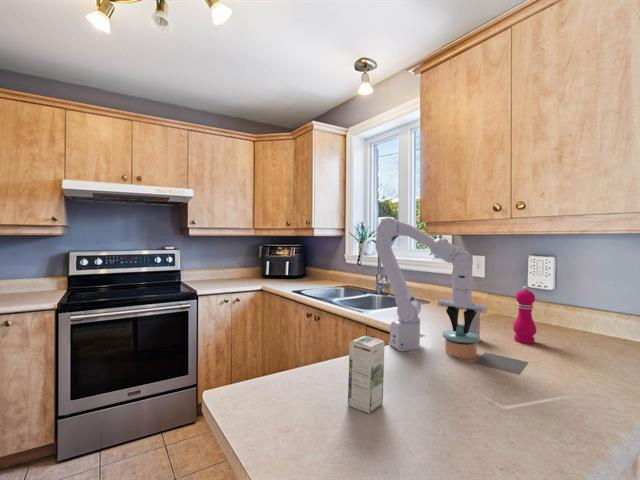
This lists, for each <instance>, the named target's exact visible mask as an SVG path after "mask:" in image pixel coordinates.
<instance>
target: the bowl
mask: <svg viewBox="0 0 640 480" xmlns="http://www.w3.org/2000/svg"><path fill="white" fill-rule="evenodd" d="M444 339H445V340H444V351H445V353H446V354H447V355H449V356H451V357H455V358H459V359H473V358H476V357H477V355H478V349H477V348H478V342H476V343H461V342H455V341H451V340H448V339H446V338H444Z"/></svg>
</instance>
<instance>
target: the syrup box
mask: <svg viewBox="0 0 640 480" xmlns="http://www.w3.org/2000/svg"><path fill="white" fill-rule="evenodd" d="M348 355H349V357H348V385H347V386H348V389H347V393H348V394H347V405H348V406H349V407H351V408H352V409H356V410H358V411H361V412H363V411H364V413H366V412H367V414H369V413H370V414H371V413H373V412H374V411H375V410H377V409H378V408H379V407H380V406H382V405H383V403H384V402H383V401H384V400H383V399H384V374H385V373H384V371H385V370H384V369H385V340H381V339H379V338H376V337H373V336H367V335H363V336H360V337H358V338H356V339H353V340H351V341H349V354H348Z"/></svg>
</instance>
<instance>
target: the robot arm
mask: <svg viewBox="0 0 640 480" xmlns="http://www.w3.org/2000/svg"><path fill="white" fill-rule="evenodd" d="M399 236H403V237H404V236H405V237H409V238H411V239H412V240H414V241H417V242H418V243H420V244H422V245H424V246H426V247H428V248H429V250H430V253H431V254H432V255H433V256H435V257H437V258H439V259H441V261H442V260H443V261H444V262H446V263H448V264H450V263H451V264H452V267H453V273H452V279H451V280H452V286H451V289H452V291H451V299H450V300H448V299H438V301H437V306H438V307H444V308H447V309H445V312H446V313H447V315H448V317H449V320H450V323H451V327H452V330H453V331H456V325H457V324H459V321H458V319H459V313H460V310H463V322H464V321H465V325H464V324H463V325H464V333H465V334H467V333H469V329H470V325H471V322H472V320H473V318H474V316H475V315H476V313H477V312H480V314H486V313H487V312H488V306H487V305H482V304H477V303H473V302H472V294H473V292H472V291H473V275H472V274H473V269H472V266H473V262H474V260H473V257H472V255H471V254H470V253H469V252H468V251H466V250H462V249H463V248H462V247H461V246H456V245H454V244H452V243H451V242H449V239H447V238H441V237H438V238H436V239H435V238H433V237H431V236H429V235H428V234H426V233H425V232H423V231H422V230H420V229H418V228H416V227H415V226H413V225H412V224H409V223H406V222H404V221H400V220H399V219H395V218H392V217H385V218H383V219H382V220H381V221H380V222H379V224H378V226H377V228H376V239H375V245H374V246H375V250H376V253H377V255H378V257H379V260H380V262H381V265H382V267H383V269H384V272H385V274H386V277H387V279H388V281H389V284H390V286H391V289H392V291H393V293H394V298H395V304H396V307H397V311H396V314H397V316H398V319H397V320H395V321H392V322H391V324H390V327H389V342H388V345H390V346H391V347H393V348H394V349H396V350H398V351H399V352H409V351H410V350H413V351H414V350H422V349H426V347H425V346H423V345H422V344H421V343H420V342H421V341H420V339H421V319H420V317H419V314H420V312H421V310H422V309H421V307H422V306H421V304H420V302H419V301H418V300H417V299H416V298H415V297H414V294H413V293H412V291H411V290H410V289H409V287H408V284H407V282H406V279H405V277H404V275H403V273H402V271H401V267H400V265H399V263H398V261H397V259H396V255H395V253H394V251H393V249H392V247H393V245H394V244H395V243H394V242H395V240H396V239H397V238H398V237H399ZM464 310H466V311H464Z"/></svg>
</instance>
